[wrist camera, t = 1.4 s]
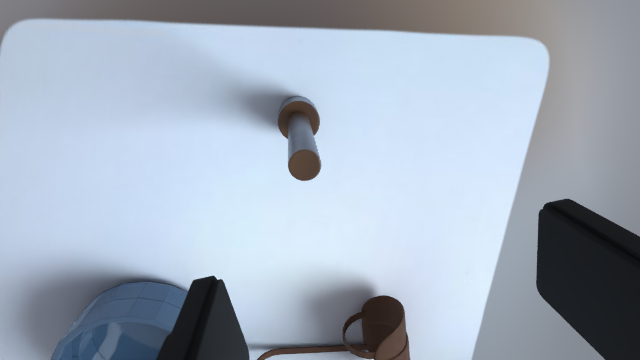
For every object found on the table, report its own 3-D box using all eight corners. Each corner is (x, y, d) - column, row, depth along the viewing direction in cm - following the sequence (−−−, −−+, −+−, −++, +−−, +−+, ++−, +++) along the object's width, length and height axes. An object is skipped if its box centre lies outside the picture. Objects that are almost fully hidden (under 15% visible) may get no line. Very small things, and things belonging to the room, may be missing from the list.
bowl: (64, 353, 41) (28, 403, 35) (115, 255, 37) (84, 292, 31) (187, 396, 44) (172, 446, 39) (245, 311, 40) (238, 353, 35)
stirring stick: (271, 121, 33) (259, 176, 19) (291, 88, 32) (293, 120, 18) (304, 141, 34) (315, 207, 20) (324, 109, 33) (350, 154, 19)
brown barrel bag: (397, 284, 41) (417, 329, 34) (402, 358, 45) (421, 410, 39) (243, 310, 40) (235, 360, 34) (263, 383, 45) (259, 439, 38)
